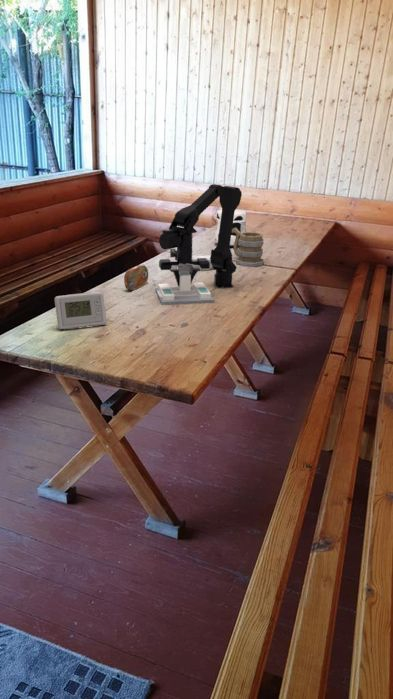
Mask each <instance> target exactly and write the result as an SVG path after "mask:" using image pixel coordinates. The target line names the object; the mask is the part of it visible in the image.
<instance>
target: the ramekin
mask: <svg viewBox="0 0 393 699" xmlns="http://www.w3.org/2000/svg"><path fill="white" fill-rule="evenodd" d="M210 257H211V254H202V253H201V254H200V253H198V254H192V261H197V258H206V259H207V260H208V261H209V262H210V268H209V269H202V268H201V267H200V266H199V269H200V271H202V270H204V271H211V270H212V269H213V267H212V264H211V259H210Z"/></svg>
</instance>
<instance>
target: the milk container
mask: <svg viewBox="0 0 393 699" xmlns="http://www.w3.org/2000/svg"><path fill="white" fill-rule="evenodd" d="M216 212H217V214H216V226H215V227H216V228H215V230H214V231H215V232H214V236H213V237H214V242H215V244H216V245H217V244H218V236H219V229H220V221H221V214H222V209H217V211H216ZM246 223H247V212H246V211H245V210H242V209H237V208H236V210H235V212H234V219H233V226H232V229H234V228H237V229H238V230H239V231H240V232H241V233H243V232H247V230H246V229H247V228H246V225H247V224H246ZM235 239H236V233H231V240H230V248H234V243H235ZM239 246H240V245H238V247H239Z"/></svg>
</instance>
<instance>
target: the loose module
mask: <svg viewBox="0 0 393 699" xmlns="http://www.w3.org/2000/svg"><path fill="white" fill-rule="evenodd" d="M191 285H192V283H191V275H190V274H189V272H179V286H178V285H177V287H178V288H179V290H180V291H191Z"/></svg>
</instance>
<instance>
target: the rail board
mask: <svg viewBox="0 0 393 699" xmlns="http://www.w3.org/2000/svg"><path fill="white" fill-rule="evenodd" d="M154 291H155V293H156V295H157V297H158V299H159V302H160V303H161V305H164V306H165V305H166V306H167V305H183V304H185V305H186V304H188V305H189V304H206V303H207V304H209V303H215V298H214V297H213V296H212V294H211V291H210V290H209V289H208V288H207V286H206V285H205V284H204V283H203V281H202V282H199V281H198V282H192V286H191V291H180V290H179V288H178V286H171V287H170V284H169V283H158V284H157V287H155V288H154Z"/></svg>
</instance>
